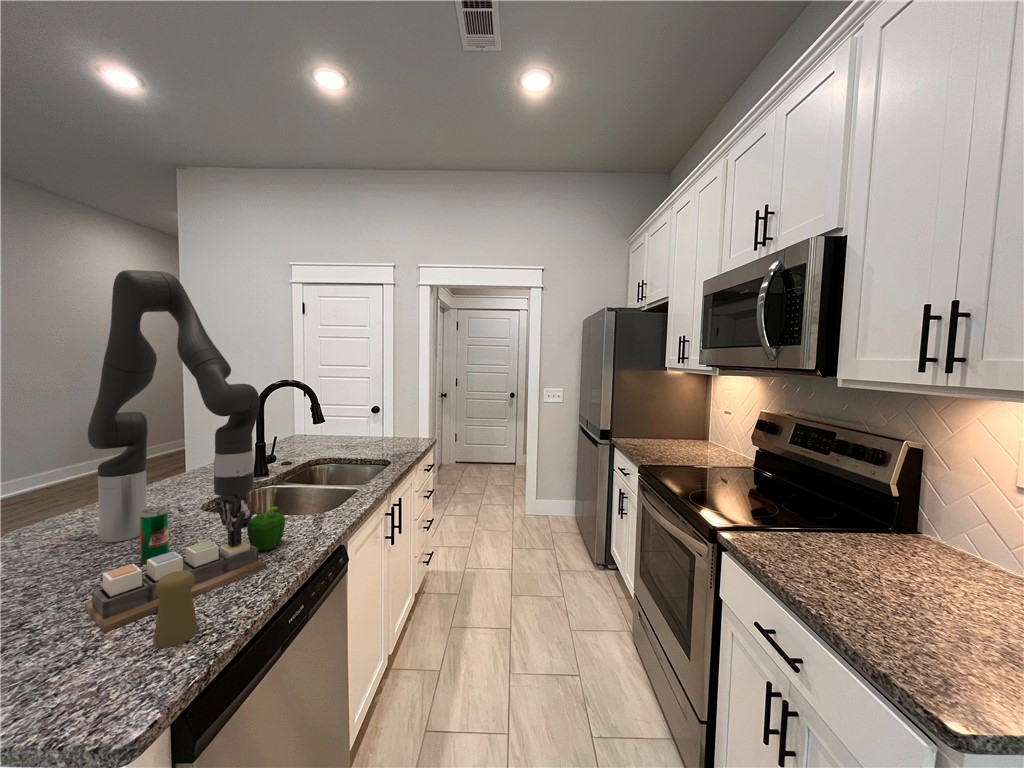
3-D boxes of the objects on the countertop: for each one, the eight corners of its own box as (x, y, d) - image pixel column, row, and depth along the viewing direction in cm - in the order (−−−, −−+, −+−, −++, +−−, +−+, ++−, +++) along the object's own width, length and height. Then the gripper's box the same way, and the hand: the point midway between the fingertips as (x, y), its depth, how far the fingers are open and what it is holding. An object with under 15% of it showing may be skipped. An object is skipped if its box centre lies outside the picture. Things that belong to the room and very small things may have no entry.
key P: (219, 559, 92) (219, 545, 92) (240, 552, 96) (240, 539, 95) (228, 565, 89) (228, 550, 89) (250, 557, 93) (250, 543, 93)
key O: (102, 588, 75) (102, 571, 75) (134, 578, 79) (133, 562, 79) (110, 596, 73) (110, 579, 73) (142, 585, 77) (141, 568, 77)
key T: (147, 574, 81) (146, 558, 81) (174, 565, 85) (174, 550, 84) (155, 580, 78) (155, 564, 78) (182, 571, 82) (182, 555, 82)
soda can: (151, 564, 93) (151, 514, 92) (134, 562, 94) (133, 512, 93) (174, 554, 98) (173, 506, 97) (157, 552, 99) (156, 504, 98)
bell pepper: (244, 557, 98) (244, 517, 97) (249, 543, 105) (248, 506, 104) (284, 550, 101) (284, 512, 101) (285, 537, 109) (285, 501, 108)
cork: (170, 625, 72) (170, 565, 72) (206, 624, 73) (205, 565, 72) (143, 648, 66) (141, 584, 66) (181, 647, 67) (180, 583, 66)
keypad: (84, 609, 76) (84, 587, 76) (241, 553, 99) (240, 537, 99) (104, 632, 70) (103, 609, 70) (266, 568, 93) (266, 550, 93)
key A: (185, 561, 86) (185, 546, 86) (209, 553, 90) (209, 539, 90) (194, 567, 84) (194, 552, 84) (218, 559, 88) (218, 544, 87)
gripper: (202, 469, 92) (202, 543, 92) (229, 479, 85) (230, 559, 85) (238, 463, 98) (238, 532, 99) (266, 472, 91) (266, 546, 92)
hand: (234, 545), depth 92 cm, fingers closed
